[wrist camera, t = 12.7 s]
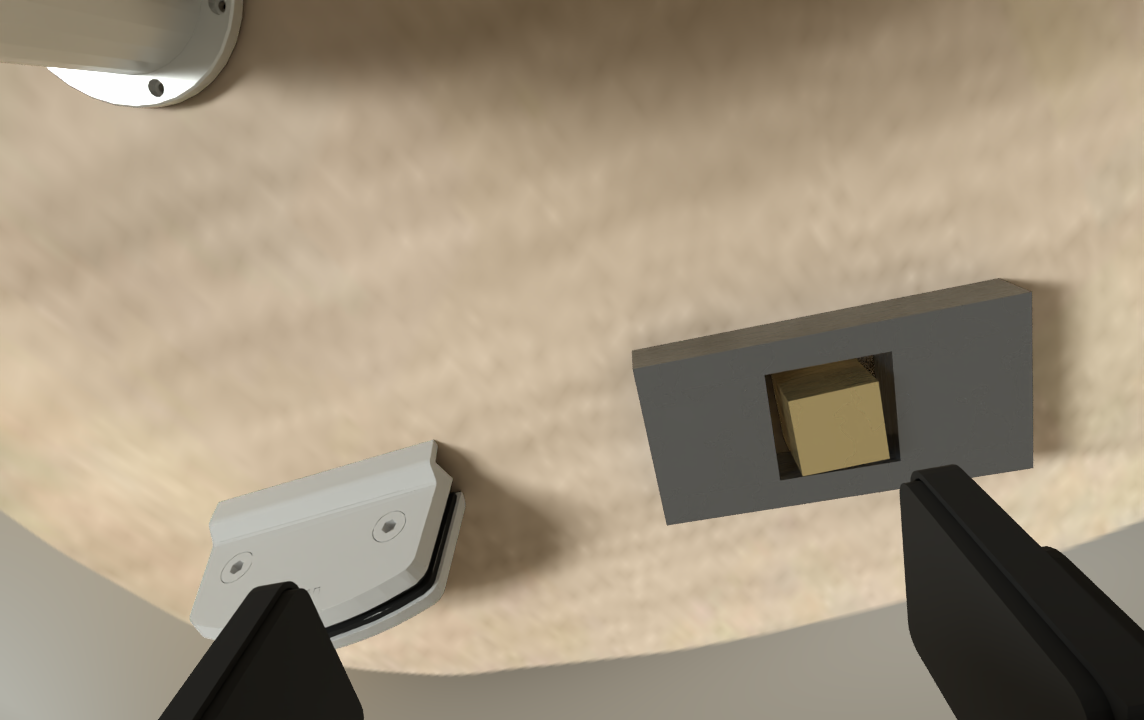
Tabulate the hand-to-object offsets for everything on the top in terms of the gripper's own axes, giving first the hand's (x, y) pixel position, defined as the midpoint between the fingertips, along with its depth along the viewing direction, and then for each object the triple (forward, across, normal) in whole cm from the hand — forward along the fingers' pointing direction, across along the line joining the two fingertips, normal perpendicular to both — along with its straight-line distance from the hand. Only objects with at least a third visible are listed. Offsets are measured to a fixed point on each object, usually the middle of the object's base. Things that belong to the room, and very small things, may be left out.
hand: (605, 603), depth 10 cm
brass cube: (+27, -10, +11) cm, 31 cm away
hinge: (+28, +20, +14) cm, 38 cm away
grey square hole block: (+27, -11, +11) cm, 31 cm away
